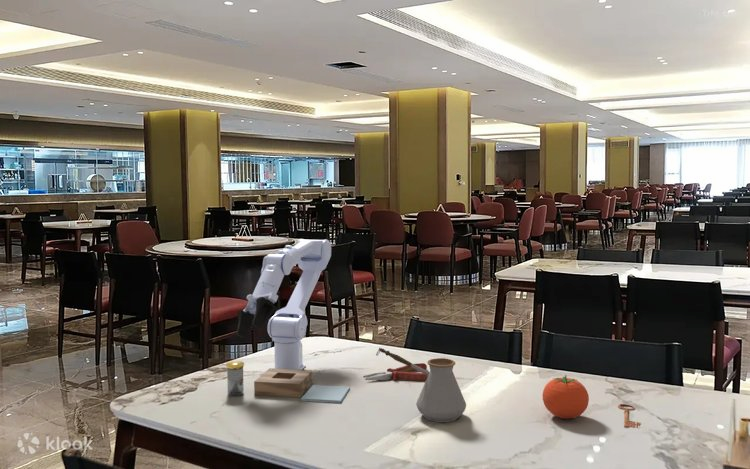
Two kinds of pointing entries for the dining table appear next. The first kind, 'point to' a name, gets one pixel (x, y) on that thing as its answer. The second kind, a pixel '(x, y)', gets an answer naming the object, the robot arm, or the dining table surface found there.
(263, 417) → the dining table surface
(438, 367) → the coffee pot
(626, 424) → the key
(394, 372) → the pliers
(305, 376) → the block
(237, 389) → the steel key peg
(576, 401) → the tomato
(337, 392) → the rubber mat
